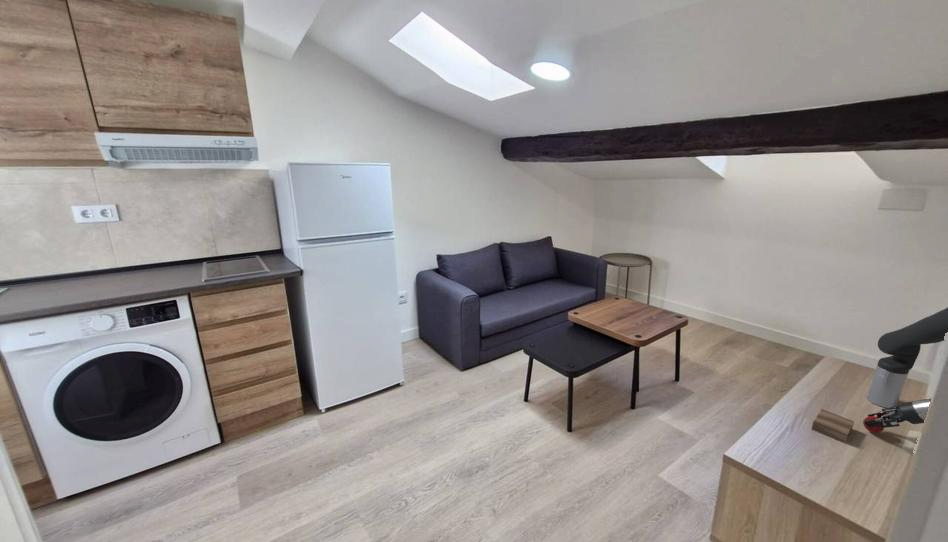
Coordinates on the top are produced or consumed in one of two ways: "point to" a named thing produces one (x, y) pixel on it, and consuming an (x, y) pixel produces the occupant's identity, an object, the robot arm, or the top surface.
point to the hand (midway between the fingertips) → (867, 420)
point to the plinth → (832, 425)
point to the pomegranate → (875, 428)
